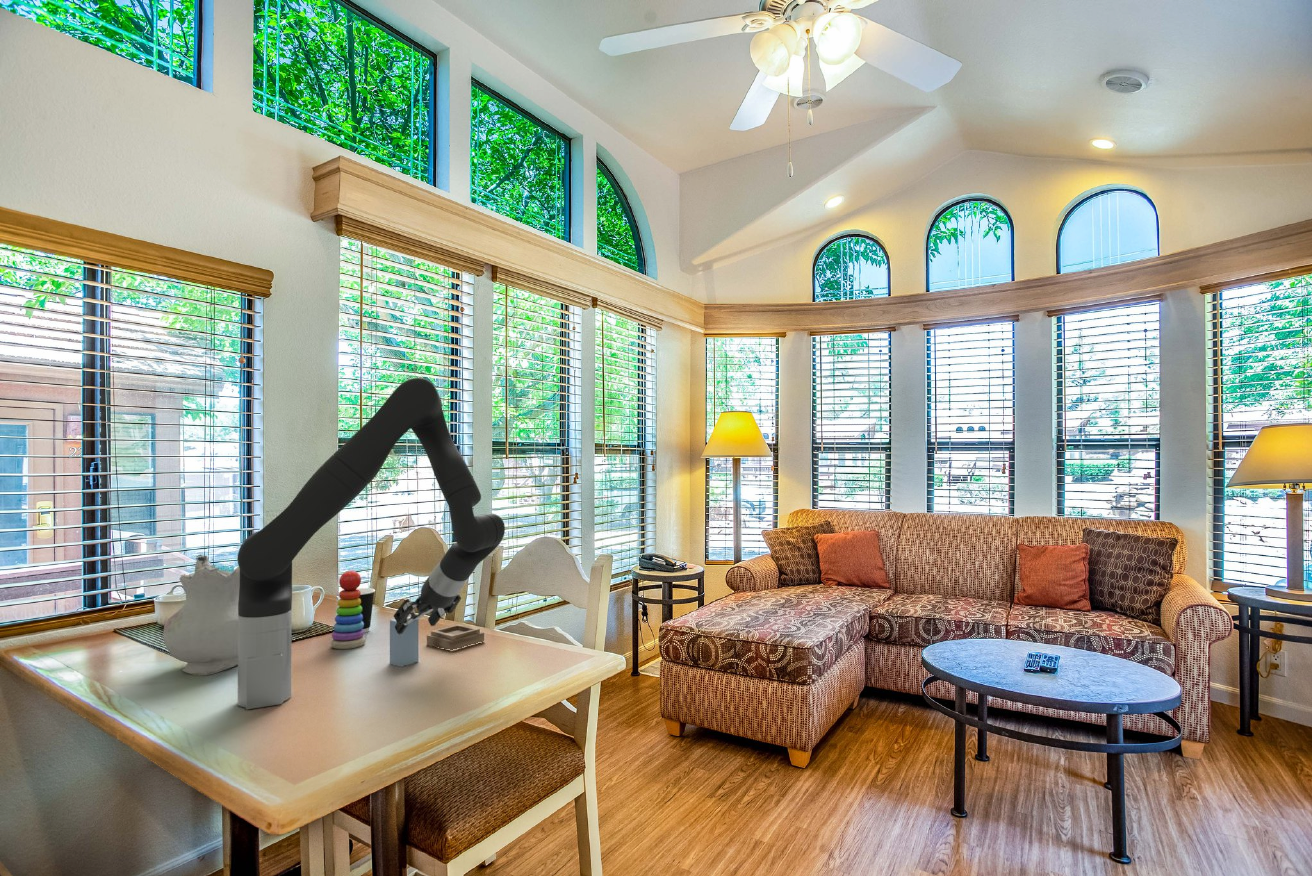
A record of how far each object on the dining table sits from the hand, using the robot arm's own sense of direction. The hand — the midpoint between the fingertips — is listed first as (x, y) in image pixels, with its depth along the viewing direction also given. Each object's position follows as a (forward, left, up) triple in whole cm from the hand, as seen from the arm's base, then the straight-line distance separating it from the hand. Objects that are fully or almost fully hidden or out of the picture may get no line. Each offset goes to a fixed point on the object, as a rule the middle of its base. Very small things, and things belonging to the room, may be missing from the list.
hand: (414, 626), depth 158 cm
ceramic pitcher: (+24, +41, -9) cm, 48 cm away
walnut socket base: (+14, -12, -9) cm, 20 cm away
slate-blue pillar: (+4, +2, -9) cm, 10 cm away
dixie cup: (+40, +8, -9) cm, 41 cm away
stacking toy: (+26, +12, -9) cm, 30 cm away
